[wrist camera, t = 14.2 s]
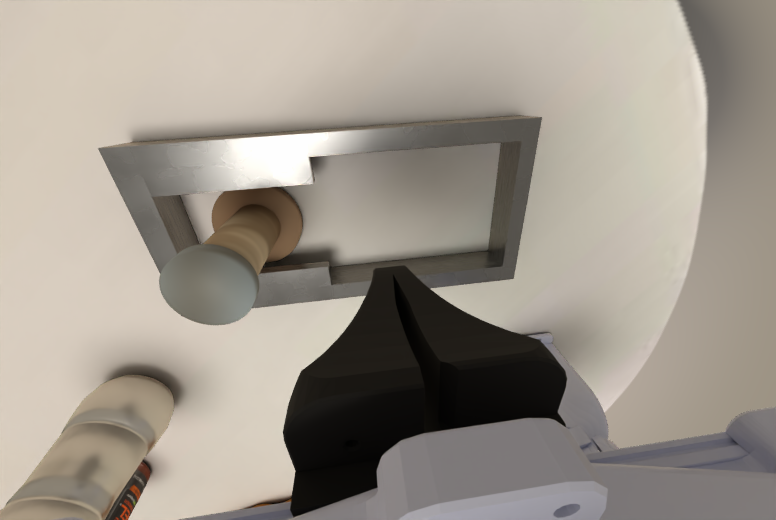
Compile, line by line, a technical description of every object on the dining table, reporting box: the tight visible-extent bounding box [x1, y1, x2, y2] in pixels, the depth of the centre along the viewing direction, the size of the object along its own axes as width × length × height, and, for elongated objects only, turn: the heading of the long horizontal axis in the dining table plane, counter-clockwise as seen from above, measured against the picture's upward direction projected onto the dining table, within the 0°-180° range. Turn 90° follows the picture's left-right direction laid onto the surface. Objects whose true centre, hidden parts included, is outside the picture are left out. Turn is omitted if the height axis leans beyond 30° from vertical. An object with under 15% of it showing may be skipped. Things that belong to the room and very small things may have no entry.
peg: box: [159, 187, 303, 325], centre depth 17 cm, size 6×6×9 cm
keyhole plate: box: [98, 116, 542, 316], centre depth 20 cm, size 24×11×3 cm, turn 93°
